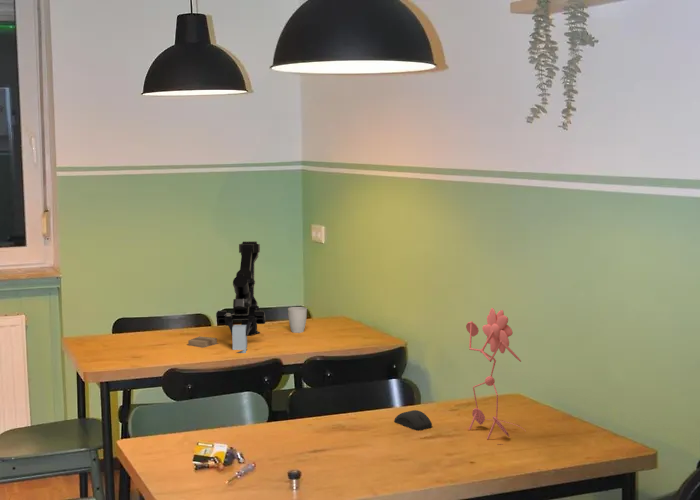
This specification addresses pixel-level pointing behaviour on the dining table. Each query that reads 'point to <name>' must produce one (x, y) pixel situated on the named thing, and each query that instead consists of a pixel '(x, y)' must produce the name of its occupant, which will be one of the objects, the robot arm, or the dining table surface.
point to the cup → (297, 318)
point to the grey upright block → (239, 338)
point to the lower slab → (210, 345)
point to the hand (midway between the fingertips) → (239, 335)
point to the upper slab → (202, 341)
